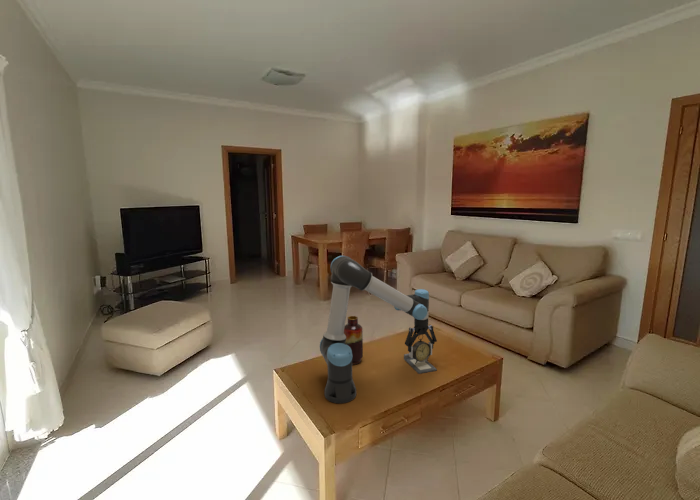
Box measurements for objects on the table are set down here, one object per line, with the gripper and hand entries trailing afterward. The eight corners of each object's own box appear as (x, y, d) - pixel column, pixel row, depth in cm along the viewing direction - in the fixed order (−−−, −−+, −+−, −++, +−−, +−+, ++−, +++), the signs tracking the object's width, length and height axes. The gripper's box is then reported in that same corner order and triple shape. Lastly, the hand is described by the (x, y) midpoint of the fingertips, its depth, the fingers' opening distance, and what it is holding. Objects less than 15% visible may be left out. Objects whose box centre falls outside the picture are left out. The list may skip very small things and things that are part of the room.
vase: (341, 364, 190) (340, 320, 186) (346, 355, 201) (345, 313, 197) (360, 366, 188) (360, 321, 184) (364, 357, 198) (364, 315, 194)
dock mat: (418, 374, 179) (418, 368, 178) (403, 359, 195) (403, 354, 195) (436, 370, 182) (437, 365, 182) (420, 356, 199) (420, 351, 198)
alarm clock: (415, 366, 183) (416, 337, 180) (409, 362, 188) (409, 334, 185) (431, 361, 188) (432, 334, 185) (425, 357, 192) (425, 330, 190)
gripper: (404, 322, 177) (404, 361, 180) (444, 317, 184) (442, 355, 187) (398, 318, 184) (398, 355, 187) (436, 313, 191) (435, 349, 194)
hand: (420, 355), depth 187 cm, fingers closed on alarm clock, 11 cm apart
